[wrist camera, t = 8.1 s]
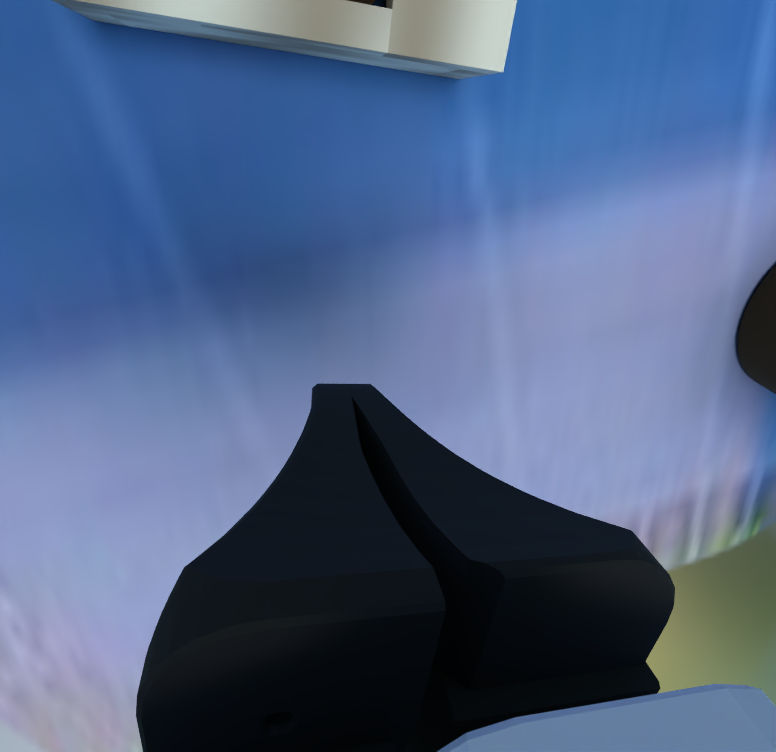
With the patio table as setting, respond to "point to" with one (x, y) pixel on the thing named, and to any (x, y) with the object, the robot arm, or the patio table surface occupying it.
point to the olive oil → (760, 334)
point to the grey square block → (336, 29)
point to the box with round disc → (364, 1)
